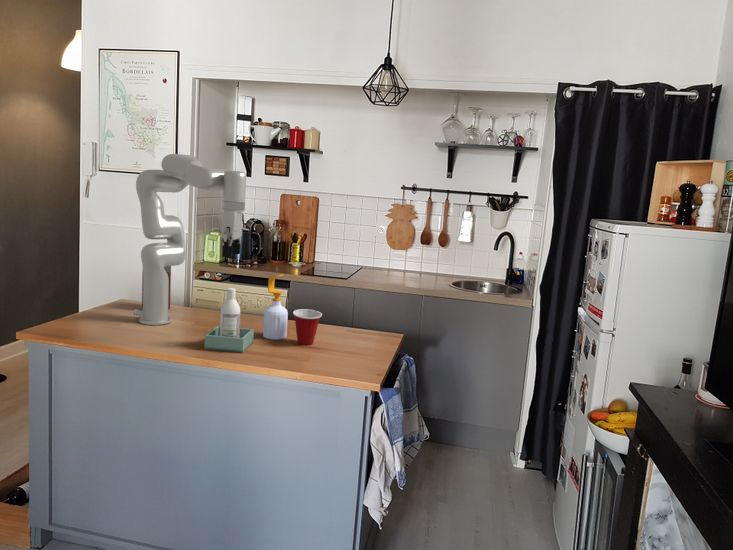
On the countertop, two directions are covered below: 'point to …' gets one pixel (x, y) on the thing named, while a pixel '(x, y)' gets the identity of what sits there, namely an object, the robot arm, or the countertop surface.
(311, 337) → the plastic cup
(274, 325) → the soap bottle
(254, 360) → the countertop surface
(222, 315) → the bath foam
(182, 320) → the countertop surface
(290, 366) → the countertop surface
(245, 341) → the tub
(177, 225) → the robot arm
